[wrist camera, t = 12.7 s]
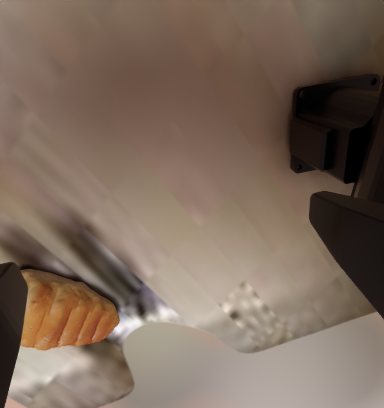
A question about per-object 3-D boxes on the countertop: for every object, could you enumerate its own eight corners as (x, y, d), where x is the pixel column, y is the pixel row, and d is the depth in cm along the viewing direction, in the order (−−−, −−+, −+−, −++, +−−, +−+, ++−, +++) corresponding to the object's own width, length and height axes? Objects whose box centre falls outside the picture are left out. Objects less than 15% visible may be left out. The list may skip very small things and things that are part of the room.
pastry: (130, 286, 26) (131, 320, 23) (103, 337, 29) (101, 375, 25) (16, 258, 23) (-2, 294, 20) (-5, 319, 25) (-24, 361, 22)
